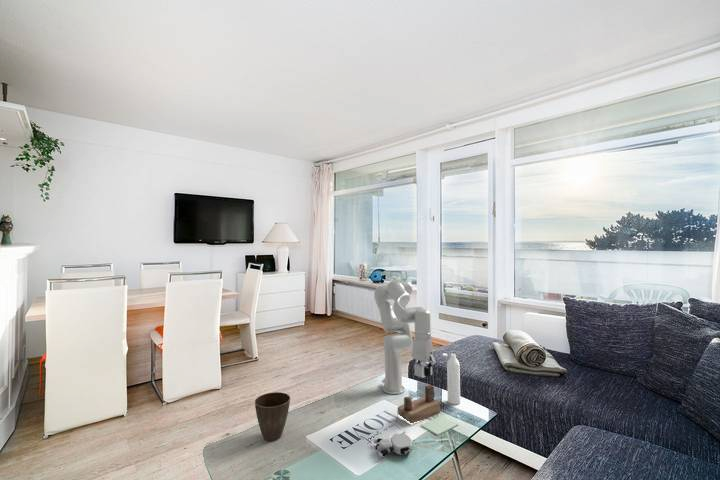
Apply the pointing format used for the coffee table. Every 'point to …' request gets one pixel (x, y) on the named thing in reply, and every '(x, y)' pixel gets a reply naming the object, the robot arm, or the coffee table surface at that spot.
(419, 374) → the grey rectangular block
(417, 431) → the coffee table surface
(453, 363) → the water bottle
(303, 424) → the coffee table surface
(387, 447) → the toy panda
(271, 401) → the plant pot
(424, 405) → the plane body
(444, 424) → the mat
